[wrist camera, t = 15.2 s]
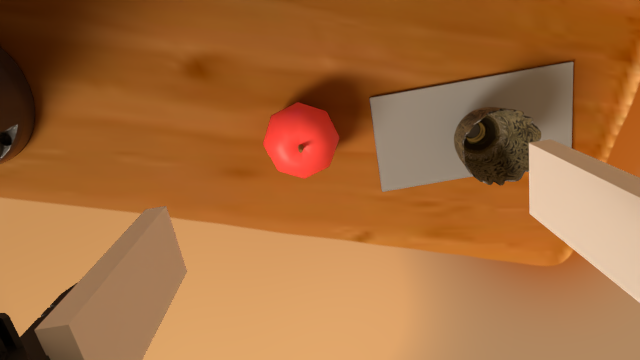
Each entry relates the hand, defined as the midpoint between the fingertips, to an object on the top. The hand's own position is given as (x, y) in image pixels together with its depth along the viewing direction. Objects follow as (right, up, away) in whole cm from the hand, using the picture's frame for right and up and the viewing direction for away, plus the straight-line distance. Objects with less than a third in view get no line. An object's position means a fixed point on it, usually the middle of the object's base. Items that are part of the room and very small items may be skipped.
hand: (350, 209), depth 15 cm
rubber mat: (+16, +7, +33) cm, 37 cm away
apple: (-3, +7, +33) cm, 33 cm away
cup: (+16, +7, +32) cm, 37 cm away
